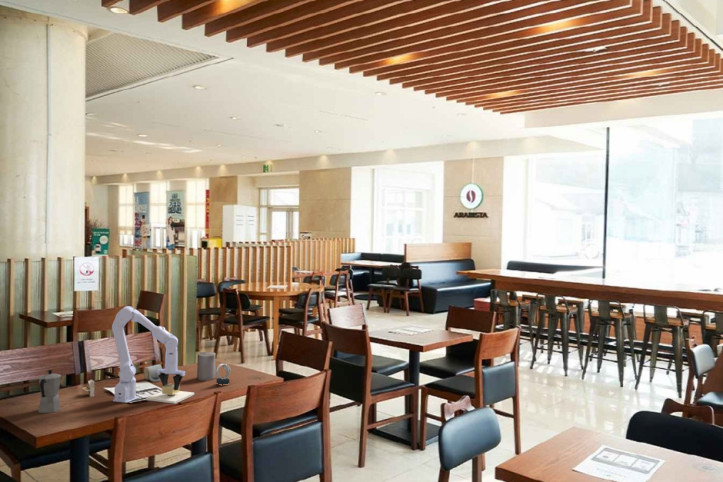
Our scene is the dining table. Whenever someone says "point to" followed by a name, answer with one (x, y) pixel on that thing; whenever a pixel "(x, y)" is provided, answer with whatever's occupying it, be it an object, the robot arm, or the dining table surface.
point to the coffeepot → (49, 392)
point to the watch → (223, 379)
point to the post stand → (170, 396)
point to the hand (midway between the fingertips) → (170, 389)
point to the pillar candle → (206, 365)
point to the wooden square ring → (169, 389)
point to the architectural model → (90, 388)
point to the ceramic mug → (152, 373)
